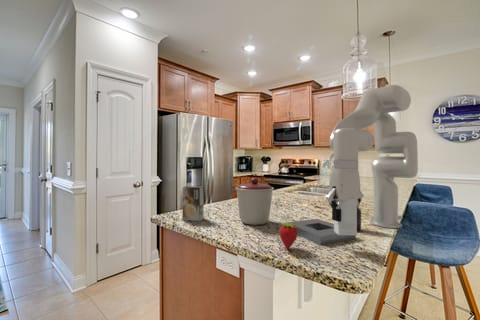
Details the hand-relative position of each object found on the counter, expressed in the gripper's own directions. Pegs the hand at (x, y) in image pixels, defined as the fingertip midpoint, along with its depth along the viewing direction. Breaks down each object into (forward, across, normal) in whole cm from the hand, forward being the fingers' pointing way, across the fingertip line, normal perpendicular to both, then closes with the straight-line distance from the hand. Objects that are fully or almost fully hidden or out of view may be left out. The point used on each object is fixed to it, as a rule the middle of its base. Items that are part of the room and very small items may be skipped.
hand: (345, 219), depth 77 cm
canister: (+10, +11, -42) cm, 45 cm away
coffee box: (+10, +36, -59) cm, 70 cm away
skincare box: (+5, 0, 0) cm, 5 cm away
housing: (+10, -4, -16) cm, 19 cm away
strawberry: (+10, +17, -8) cm, 21 cm away
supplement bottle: (+10, -22, -15) cm, 29 cm away
